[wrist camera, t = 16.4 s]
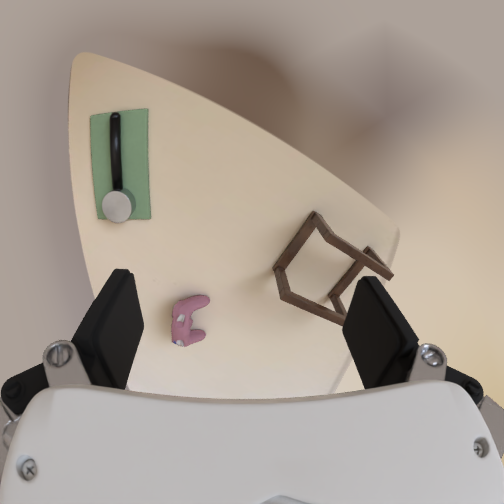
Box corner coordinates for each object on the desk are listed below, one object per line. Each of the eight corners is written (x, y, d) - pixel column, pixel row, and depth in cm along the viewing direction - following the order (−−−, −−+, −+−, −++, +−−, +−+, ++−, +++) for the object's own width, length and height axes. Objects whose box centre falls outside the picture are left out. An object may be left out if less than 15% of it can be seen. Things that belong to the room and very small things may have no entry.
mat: (91, 115, 30) (90, 115, 30) (148, 108, 31) (147, 108, 30) (99, 217, 38) (97, 219, 37) (151, 218, 38) (150, 219, 38)
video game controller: (190, 285, 46) (165, 305, 40) (212, 296, 45) (189, 318, 39) (187, 326, 51) (165, 347, 45) (207, 336, 49) (187, 359, 44)
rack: (313, 210, 39) (329, 232, 32) (373, 250, 43) (395, 275, 36) (272, 268, 44) (279, 299, 36) (334, 298, 47) (347, 328, 40)
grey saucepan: (102, 113, 30) (96, 114, 28) (133, 110, 30) (127, 110, 29) (109, 218, 37) (104, 223, 36) (137, 218, 38) (133, 223, 36)
